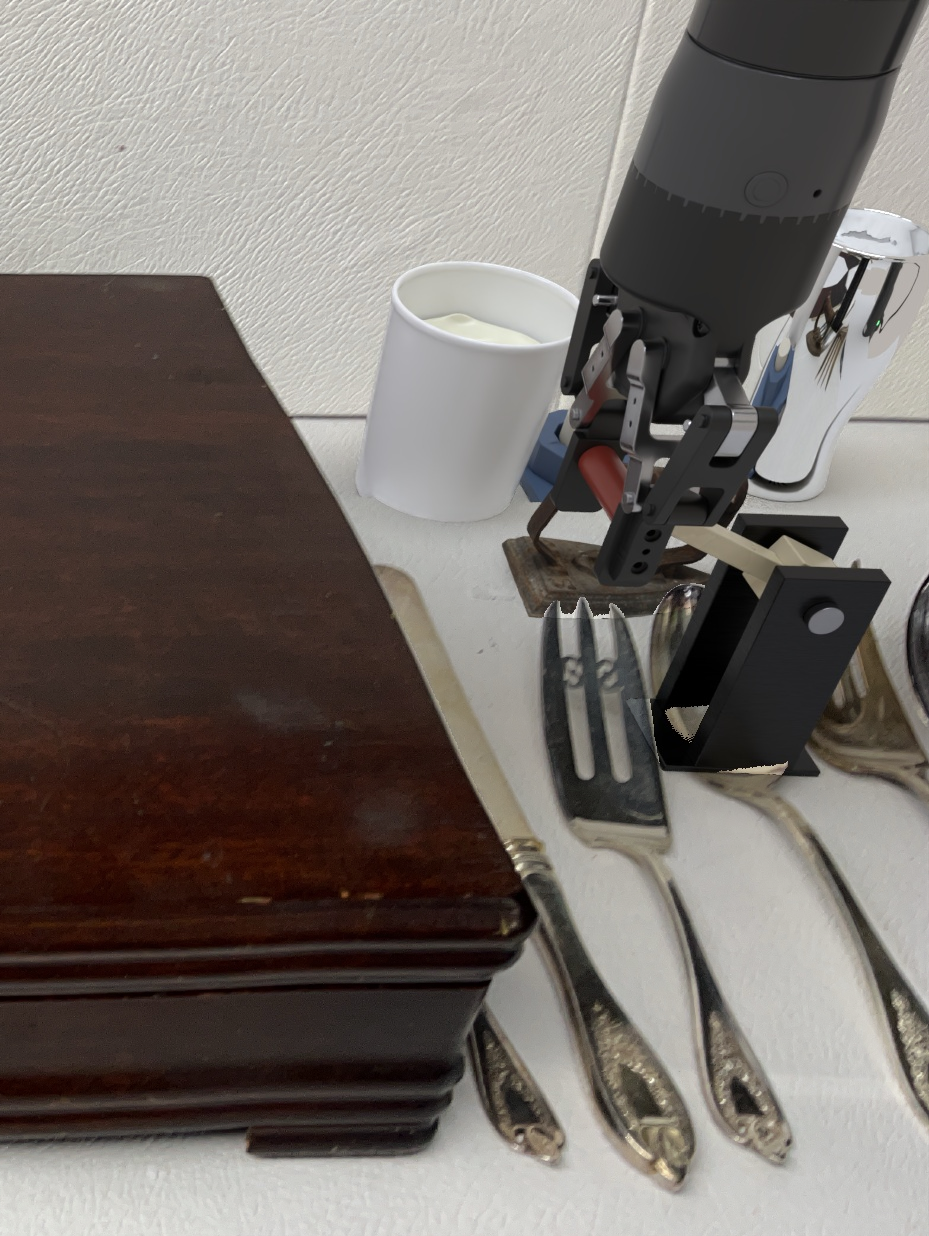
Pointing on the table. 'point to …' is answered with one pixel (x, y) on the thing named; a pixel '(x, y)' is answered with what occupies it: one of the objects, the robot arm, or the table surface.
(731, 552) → the switch lever
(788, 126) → the robot arm
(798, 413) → the beer glass
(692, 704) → the switch bracket
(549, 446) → the button block
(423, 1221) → the table surface
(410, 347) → the candle holder
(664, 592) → the clothes iron
